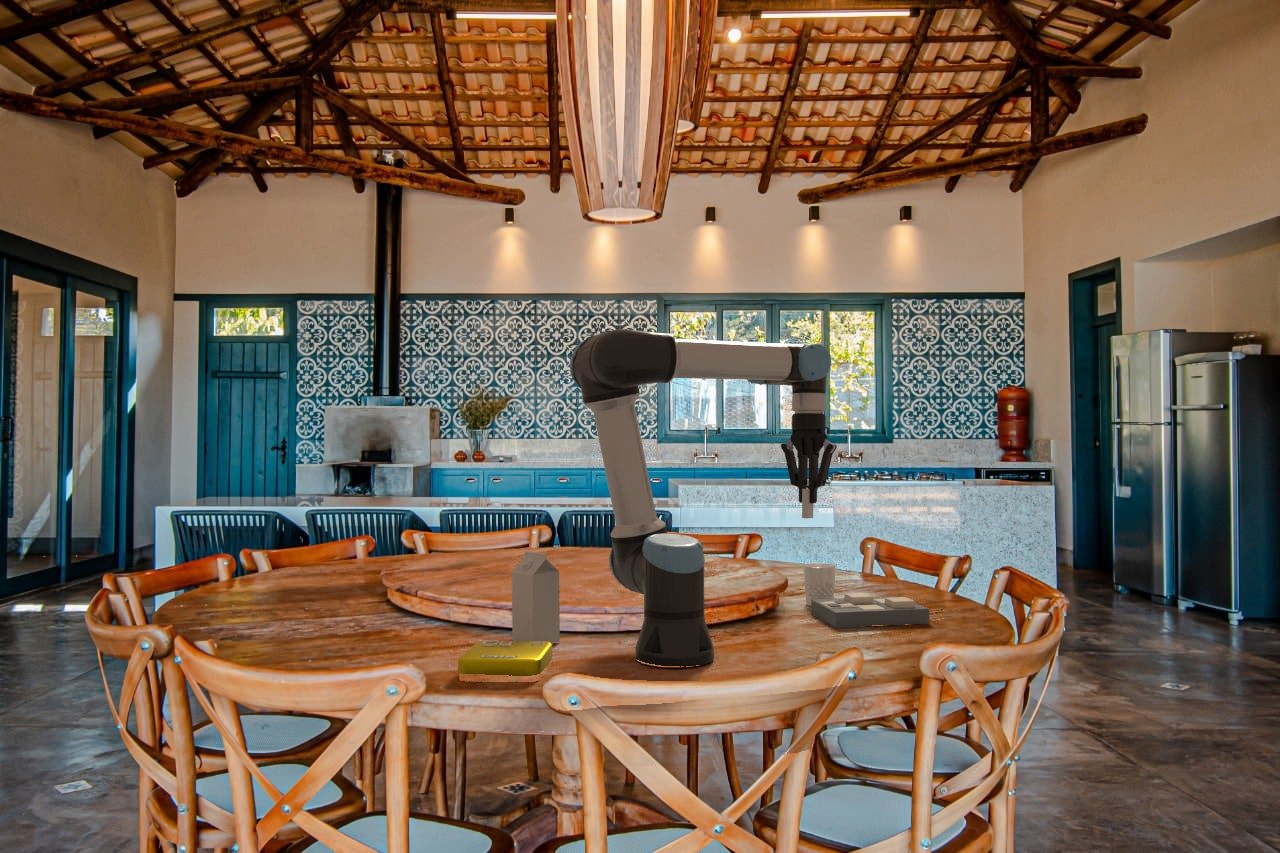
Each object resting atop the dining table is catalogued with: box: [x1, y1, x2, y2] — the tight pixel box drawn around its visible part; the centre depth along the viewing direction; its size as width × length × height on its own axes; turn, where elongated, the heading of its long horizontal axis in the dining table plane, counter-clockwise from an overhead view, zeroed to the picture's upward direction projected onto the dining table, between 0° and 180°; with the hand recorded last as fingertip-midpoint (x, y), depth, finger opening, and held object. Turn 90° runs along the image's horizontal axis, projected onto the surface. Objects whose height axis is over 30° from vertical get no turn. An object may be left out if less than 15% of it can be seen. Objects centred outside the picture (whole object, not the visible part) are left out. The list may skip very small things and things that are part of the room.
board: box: [811, 595, 930, 629], centre depth 206 cm, size 22×16×4 cm
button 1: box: [844, 592, 874, 604], centre depth 209 cm, size 5×5×2 cm
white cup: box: [803, 562, 836, 607], centre depth 224 cm, size 8×8×10 cm
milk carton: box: [511, 550, 561, 643], centre depth 185 cm, size 7×7×19 cm
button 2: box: [856, 605, 885, 610], centre depth 202 cm, size 5×5×2 cm
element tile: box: [457, 639, 553, 676], centre depth 163 cm, size 15×15×5 cm
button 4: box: [885, 596, 916, 609], centre depth 203 cm, size 5×5×2 cm
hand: (807, 517), depth 199 cm, fingers closed
